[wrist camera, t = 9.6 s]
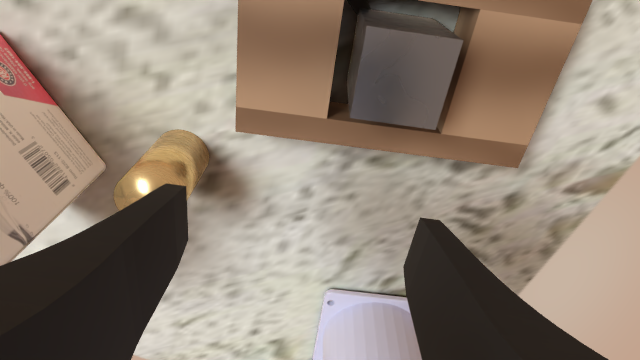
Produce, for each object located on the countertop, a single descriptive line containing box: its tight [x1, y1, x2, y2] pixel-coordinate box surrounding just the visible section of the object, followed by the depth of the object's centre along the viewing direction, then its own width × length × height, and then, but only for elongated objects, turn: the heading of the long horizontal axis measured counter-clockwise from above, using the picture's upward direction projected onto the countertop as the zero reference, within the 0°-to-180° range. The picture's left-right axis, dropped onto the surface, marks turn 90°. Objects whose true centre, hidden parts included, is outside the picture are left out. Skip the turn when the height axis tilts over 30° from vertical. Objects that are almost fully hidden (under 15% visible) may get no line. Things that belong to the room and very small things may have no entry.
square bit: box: [347, 8, 463, 130], centre depth 17 cm, size 4×4×5 cm
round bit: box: [114, 130, 209, 211], centre depth 20 cm, size 3×3×5 cm
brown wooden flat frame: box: [236, 0, 592, 168], centre depth 18 cm, size 8×14×2 cm, turn 83°
